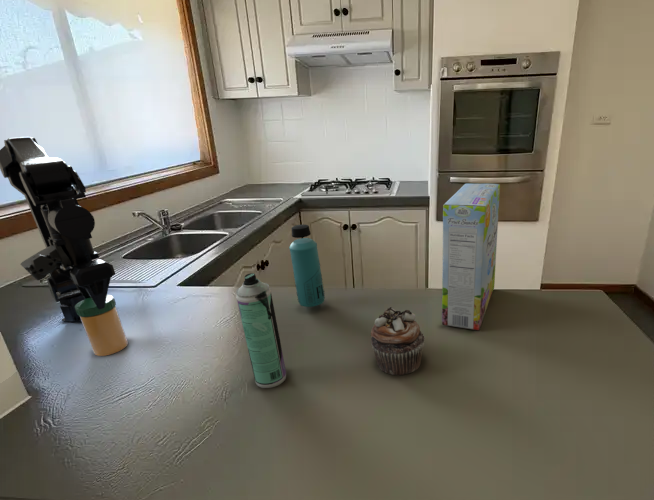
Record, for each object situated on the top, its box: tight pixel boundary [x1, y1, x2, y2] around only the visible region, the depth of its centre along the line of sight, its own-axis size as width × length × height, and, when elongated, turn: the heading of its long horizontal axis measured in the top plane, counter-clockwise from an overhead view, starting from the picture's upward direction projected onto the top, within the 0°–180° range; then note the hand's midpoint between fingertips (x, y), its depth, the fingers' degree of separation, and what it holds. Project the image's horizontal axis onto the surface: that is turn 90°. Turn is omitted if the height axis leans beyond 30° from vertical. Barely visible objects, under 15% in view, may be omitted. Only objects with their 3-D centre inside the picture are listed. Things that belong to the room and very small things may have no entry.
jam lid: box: [75, 294, 117, 317], centre depth 86 cm, size 7×7×2 cm
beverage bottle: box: [288, 223, 326, 308], centre depth 97 cm, size 6×7×20 cm
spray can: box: [235, 272, 287, 389], centre depth 71 cm, size 6×6×20 cm
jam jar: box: [80, 305, 129, 357], centre depth 88 cm, size 6×6×10 cm
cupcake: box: [370, 306, 426, 376], centre depth 75 cm, size 10×10×10 cm
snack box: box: [441, 183, 501, 331], centre depth 90 cm, size 22×9×26 cm, turn 158°
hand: (95, 303), depth 86 cm, fingers open, 7 cm apart
